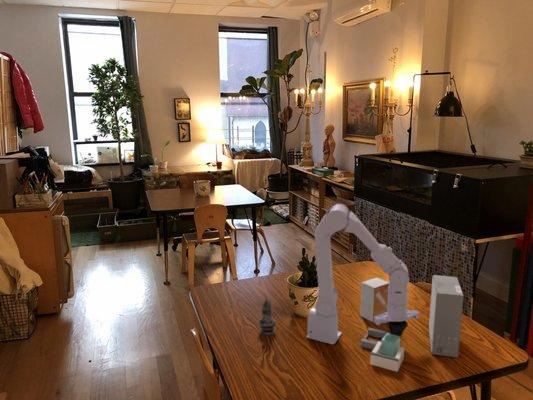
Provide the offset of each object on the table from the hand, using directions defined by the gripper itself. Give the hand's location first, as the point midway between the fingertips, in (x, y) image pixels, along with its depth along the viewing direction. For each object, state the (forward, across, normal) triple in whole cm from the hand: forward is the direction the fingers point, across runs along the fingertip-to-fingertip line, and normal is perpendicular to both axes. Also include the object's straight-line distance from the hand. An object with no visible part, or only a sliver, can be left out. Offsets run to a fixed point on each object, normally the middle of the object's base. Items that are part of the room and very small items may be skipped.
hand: (395, 341), depth 134 cm
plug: (+1, +4, +3) cm, 5 cm away
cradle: (+1, +6, -4) cm, 7 cm away
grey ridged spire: (+1, +37, -20) cm, 42 cm away
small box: (+1, -3, -19) cm, 19 cm away
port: (+1, +7, +7) cm, 10 cm away
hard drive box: (+1, -14, +4) cm, 15 cm away
